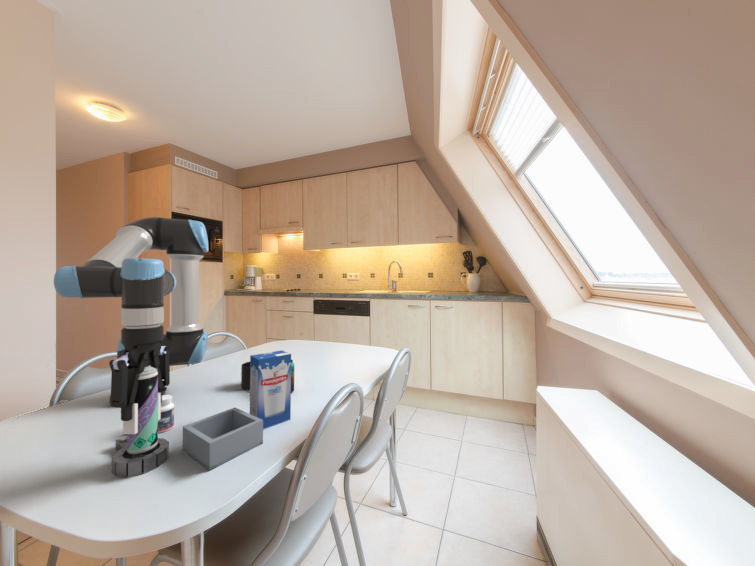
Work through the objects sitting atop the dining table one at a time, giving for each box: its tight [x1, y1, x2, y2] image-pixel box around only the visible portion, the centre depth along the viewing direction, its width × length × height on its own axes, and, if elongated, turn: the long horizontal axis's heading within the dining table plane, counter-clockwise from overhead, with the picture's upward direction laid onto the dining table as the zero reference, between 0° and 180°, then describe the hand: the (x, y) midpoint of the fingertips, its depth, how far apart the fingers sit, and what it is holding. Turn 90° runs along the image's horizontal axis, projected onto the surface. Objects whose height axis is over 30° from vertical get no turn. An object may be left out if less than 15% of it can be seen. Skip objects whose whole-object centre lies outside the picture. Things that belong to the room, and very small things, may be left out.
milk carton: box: [249, 349, 292, 430], centre depth 86 cm, size 10×6×20 cm, turn 135°
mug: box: [240, 361, 250, 391], centre depth 113 cm, size 9×12×9 cm
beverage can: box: [291, 359, 295, 394], centre depth 108 cm, size 7×7×12 cm
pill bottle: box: [158, 394, 175, 434], centre depth 81 cm, size 5×5×9 cm
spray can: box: [127, 364, 159, 454], centre depth 66 cm, size 6×6×20 cm
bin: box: [182, 407, 264, 471], centre depth 72 cm, size 13×13×6 cm
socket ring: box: [111, 434, 170, 479], centre depth 68 cm, size 17×10×3 cm, turn 56°
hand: (142, 425), depth 66 cm, fingers closed on spray can, 5 cm apart
